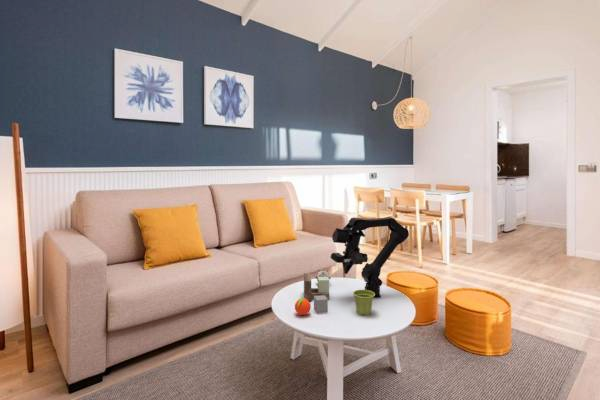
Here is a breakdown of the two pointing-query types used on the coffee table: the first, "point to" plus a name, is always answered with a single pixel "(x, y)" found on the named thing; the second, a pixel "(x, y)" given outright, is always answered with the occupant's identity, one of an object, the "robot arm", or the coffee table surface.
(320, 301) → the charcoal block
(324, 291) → the pale green block
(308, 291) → the walnut console
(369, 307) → the plant pot
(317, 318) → the coffee table surface
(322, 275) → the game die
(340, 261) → the robot arm
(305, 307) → the clementine
